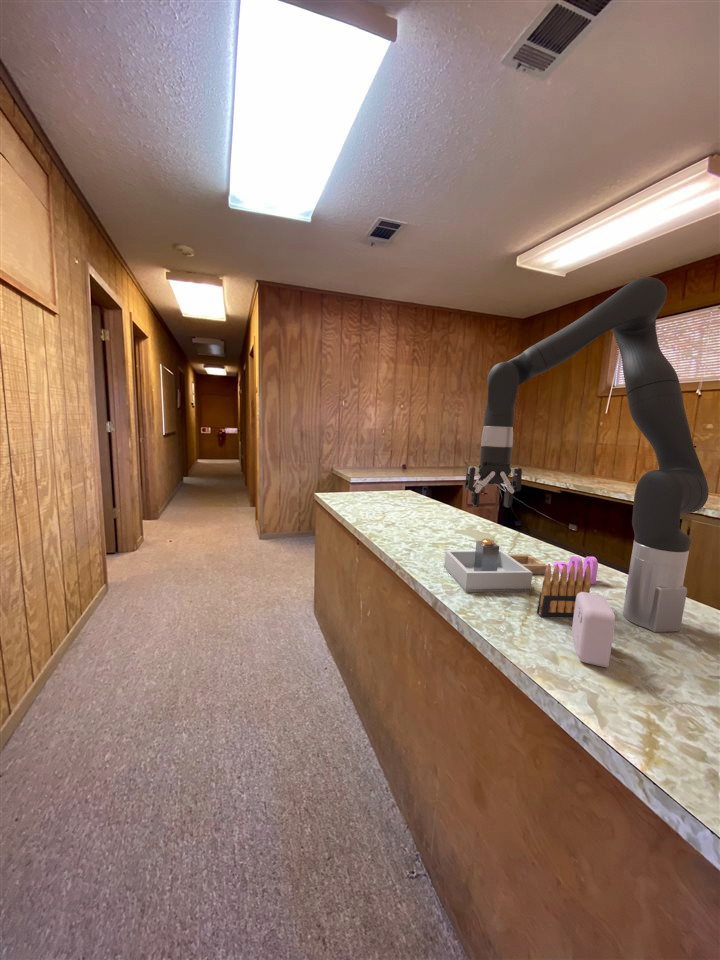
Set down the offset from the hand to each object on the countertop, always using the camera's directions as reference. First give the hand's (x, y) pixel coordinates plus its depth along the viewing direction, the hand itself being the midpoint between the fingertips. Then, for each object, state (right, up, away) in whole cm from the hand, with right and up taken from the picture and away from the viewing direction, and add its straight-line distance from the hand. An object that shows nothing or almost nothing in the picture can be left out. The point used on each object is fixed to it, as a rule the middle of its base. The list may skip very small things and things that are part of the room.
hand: (491, 506), depth 99 cm
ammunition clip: (+10, -23, -15) cm, 30 cm away
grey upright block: (-1, -19, +3) cm, 19 cm away
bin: (-1, -20, +3) cm, 20 cm away
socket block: (+13, -19, +12) cm, 26 cm away
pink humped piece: (+26, -20, +9) cm, 34 cm away
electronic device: (+8, -25, -28) cm, 39 cm away
